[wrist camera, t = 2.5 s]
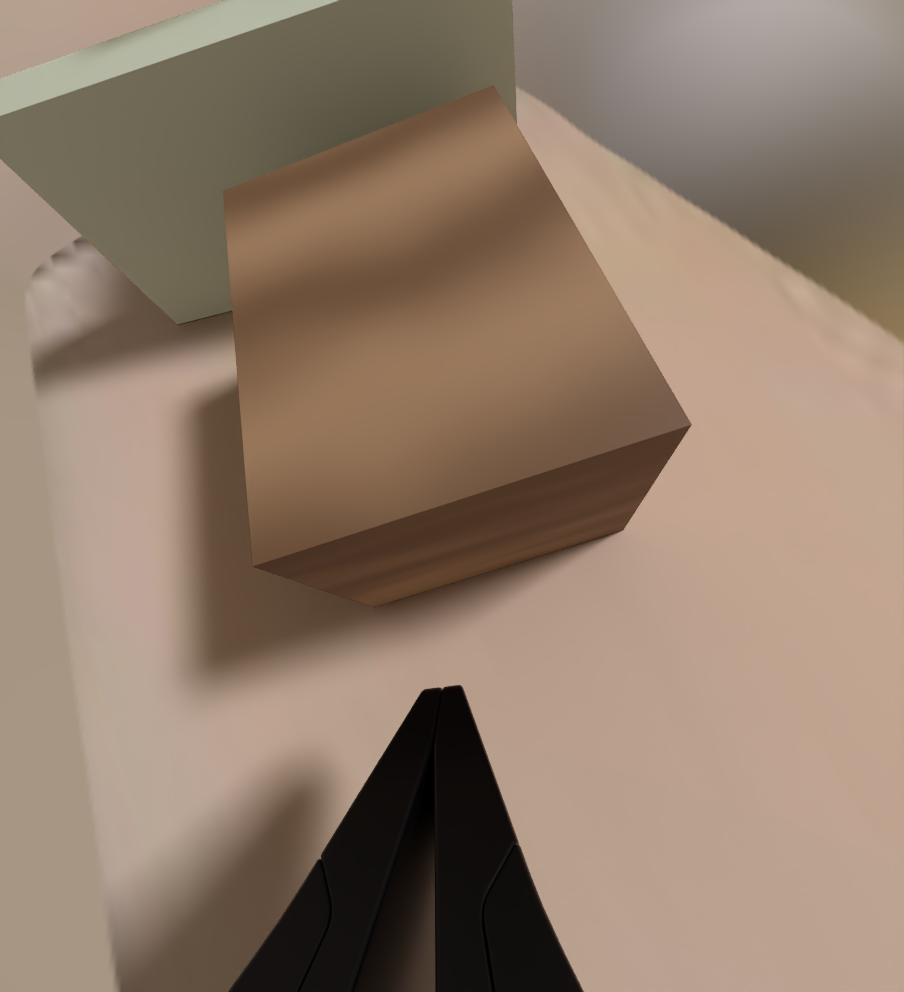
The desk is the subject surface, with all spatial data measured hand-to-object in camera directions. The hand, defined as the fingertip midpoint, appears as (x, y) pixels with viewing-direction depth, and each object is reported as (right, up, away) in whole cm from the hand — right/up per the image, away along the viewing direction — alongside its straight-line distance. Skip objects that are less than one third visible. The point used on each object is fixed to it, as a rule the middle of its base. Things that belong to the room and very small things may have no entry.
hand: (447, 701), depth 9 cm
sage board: (-6, +17, +15) cm, 24 cm away
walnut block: (0, +8, +10) cm, 13 cm away
